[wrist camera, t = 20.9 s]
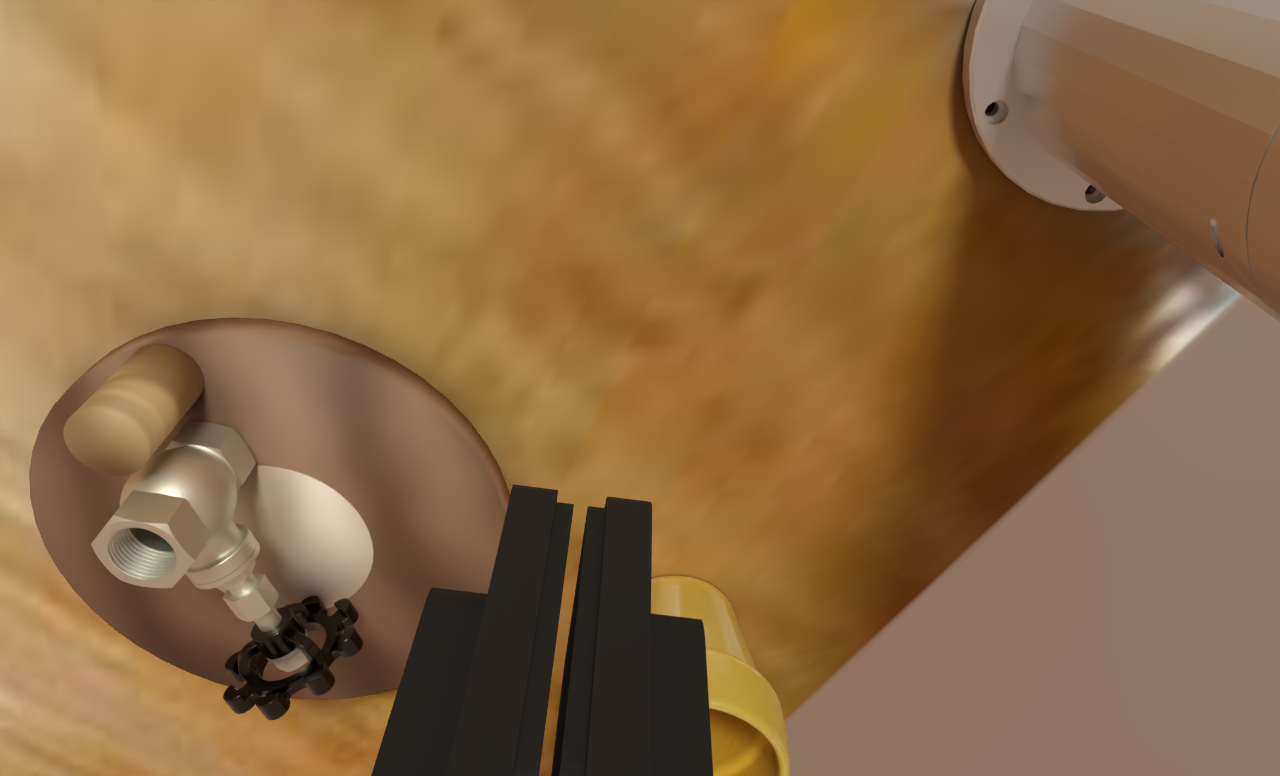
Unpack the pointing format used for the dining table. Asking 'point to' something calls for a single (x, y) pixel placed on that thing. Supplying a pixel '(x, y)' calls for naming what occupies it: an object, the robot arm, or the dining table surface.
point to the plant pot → (729, 683)
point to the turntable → (278, 488)
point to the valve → (222, 564)
